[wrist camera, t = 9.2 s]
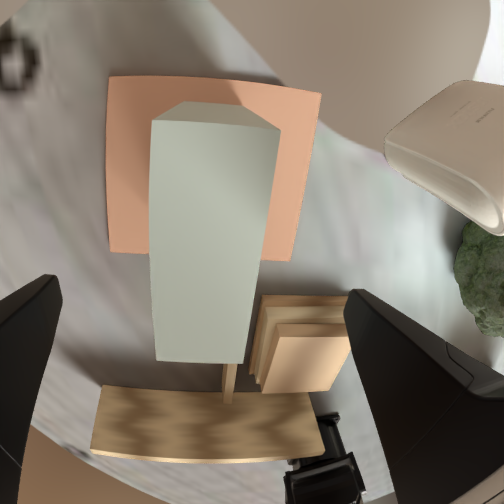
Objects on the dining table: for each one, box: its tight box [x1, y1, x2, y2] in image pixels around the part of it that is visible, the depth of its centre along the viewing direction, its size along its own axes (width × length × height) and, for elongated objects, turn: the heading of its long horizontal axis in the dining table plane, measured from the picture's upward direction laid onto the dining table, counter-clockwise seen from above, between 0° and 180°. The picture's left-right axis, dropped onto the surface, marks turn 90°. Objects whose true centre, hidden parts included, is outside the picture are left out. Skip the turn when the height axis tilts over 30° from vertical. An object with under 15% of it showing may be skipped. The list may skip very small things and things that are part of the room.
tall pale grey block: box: [149, 101, 281, 364], centre depth 15 cm, size 4×9×11 cm, turn 172°
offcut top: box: [260, 323, 351, 394], centre depth 26 cm, size 6×7×2 cm
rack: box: [90, 364, 325, 463], centre depth 25 cm, size 22×14×8 cm, turn 83°
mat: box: [106, 76, 321, 261], centre depth 20 cm, size 13×12×1 cm
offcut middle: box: [254, 305, 345, 384], centre depth 27 cm, size 7×8×2 cm
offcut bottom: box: [248, 295, 348, 374], centre depth 28 cm, size 8×9×2 cm
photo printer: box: [384, 80, 504, 236], centre depth 15 cm, size 10×4×12 cm, turn 128°
